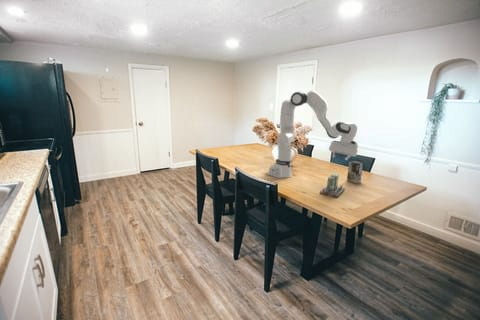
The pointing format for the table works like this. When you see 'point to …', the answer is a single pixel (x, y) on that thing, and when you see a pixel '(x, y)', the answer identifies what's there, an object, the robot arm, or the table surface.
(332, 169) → the table surface
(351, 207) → the table surface
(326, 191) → the rail base
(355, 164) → the coffee box
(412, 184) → the table surface
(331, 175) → the block
